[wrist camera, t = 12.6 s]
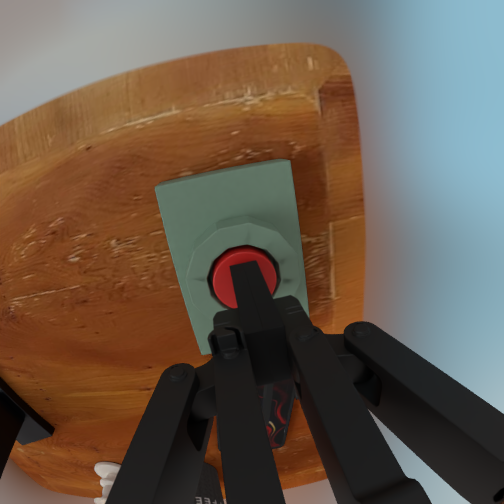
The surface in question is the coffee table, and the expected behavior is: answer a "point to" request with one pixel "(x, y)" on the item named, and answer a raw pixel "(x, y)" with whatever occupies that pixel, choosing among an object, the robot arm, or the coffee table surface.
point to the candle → (106, 478)
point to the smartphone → (275, 410)
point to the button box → (231, 231)
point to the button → (237, 256)
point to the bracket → (18, 423)
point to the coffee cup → (208, 487)
